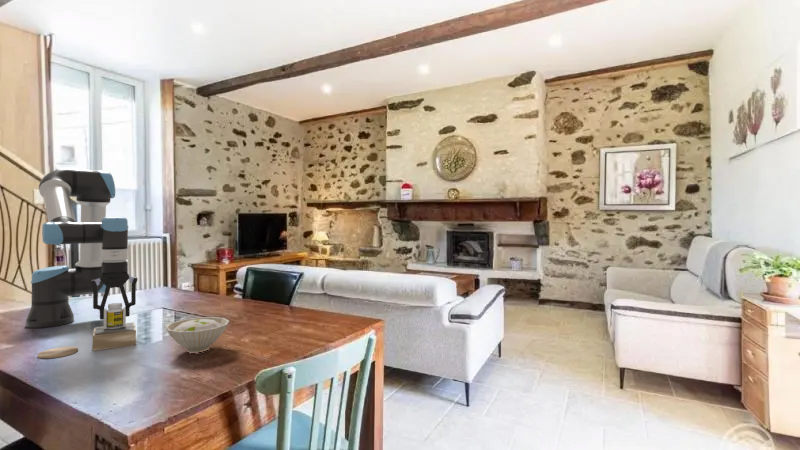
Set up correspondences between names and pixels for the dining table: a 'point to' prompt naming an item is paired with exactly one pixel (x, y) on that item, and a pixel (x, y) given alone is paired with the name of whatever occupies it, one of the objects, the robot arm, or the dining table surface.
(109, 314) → the supplement bottle
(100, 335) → the beech block
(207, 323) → the bowl
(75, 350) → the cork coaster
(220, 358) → the dining table surface
